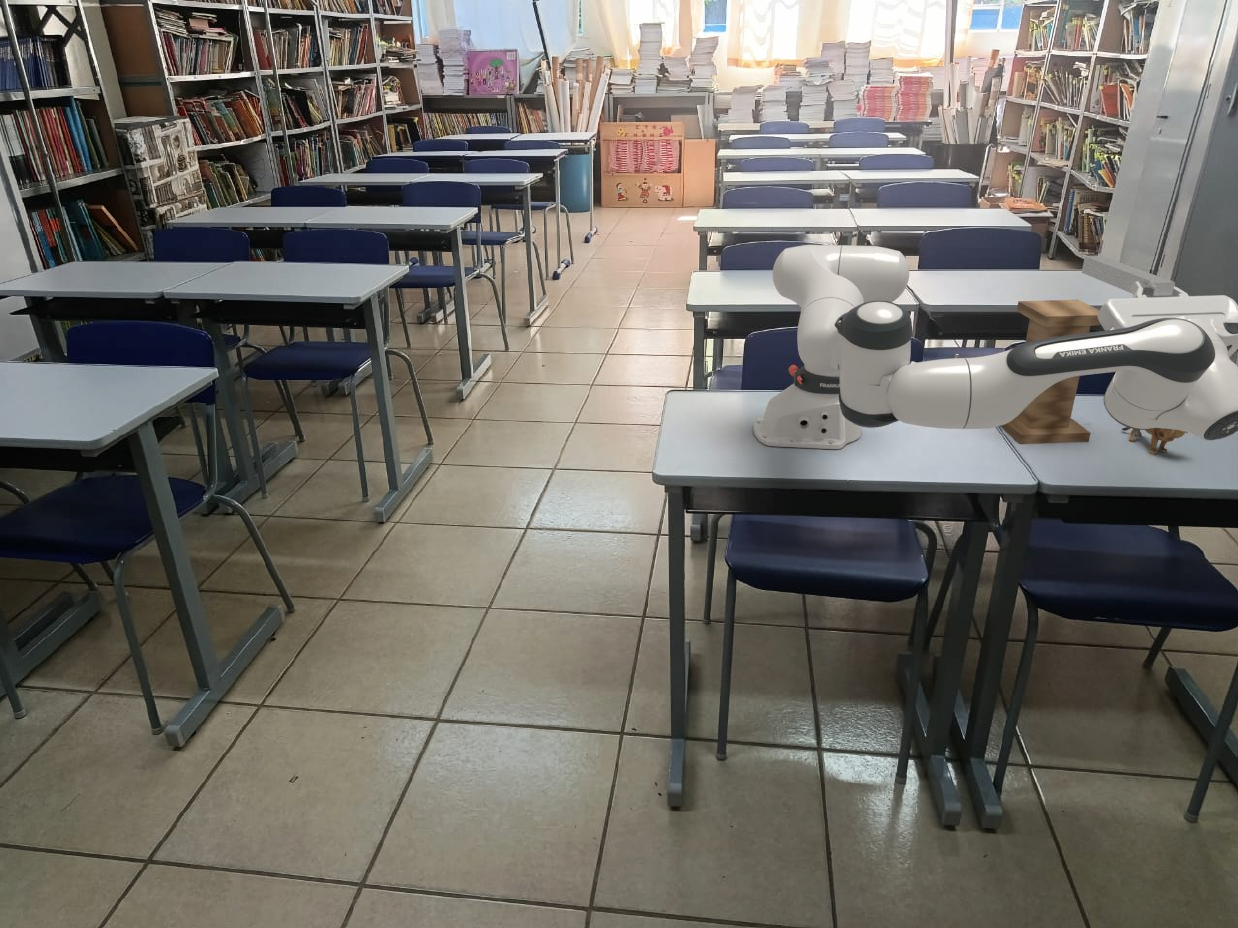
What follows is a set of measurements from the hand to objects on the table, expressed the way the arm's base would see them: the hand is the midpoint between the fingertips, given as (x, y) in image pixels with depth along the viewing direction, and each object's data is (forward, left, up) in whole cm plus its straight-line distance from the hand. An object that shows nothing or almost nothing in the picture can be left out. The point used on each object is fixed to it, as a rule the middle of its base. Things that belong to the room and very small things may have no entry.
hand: (1150, 284), depth 136 cm
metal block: (0, +7, -2) cm, 7 cm away
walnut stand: (0, +25, -36) cm, 44 cm away
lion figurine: (+18, +15, -37) cm, 44 cm away
